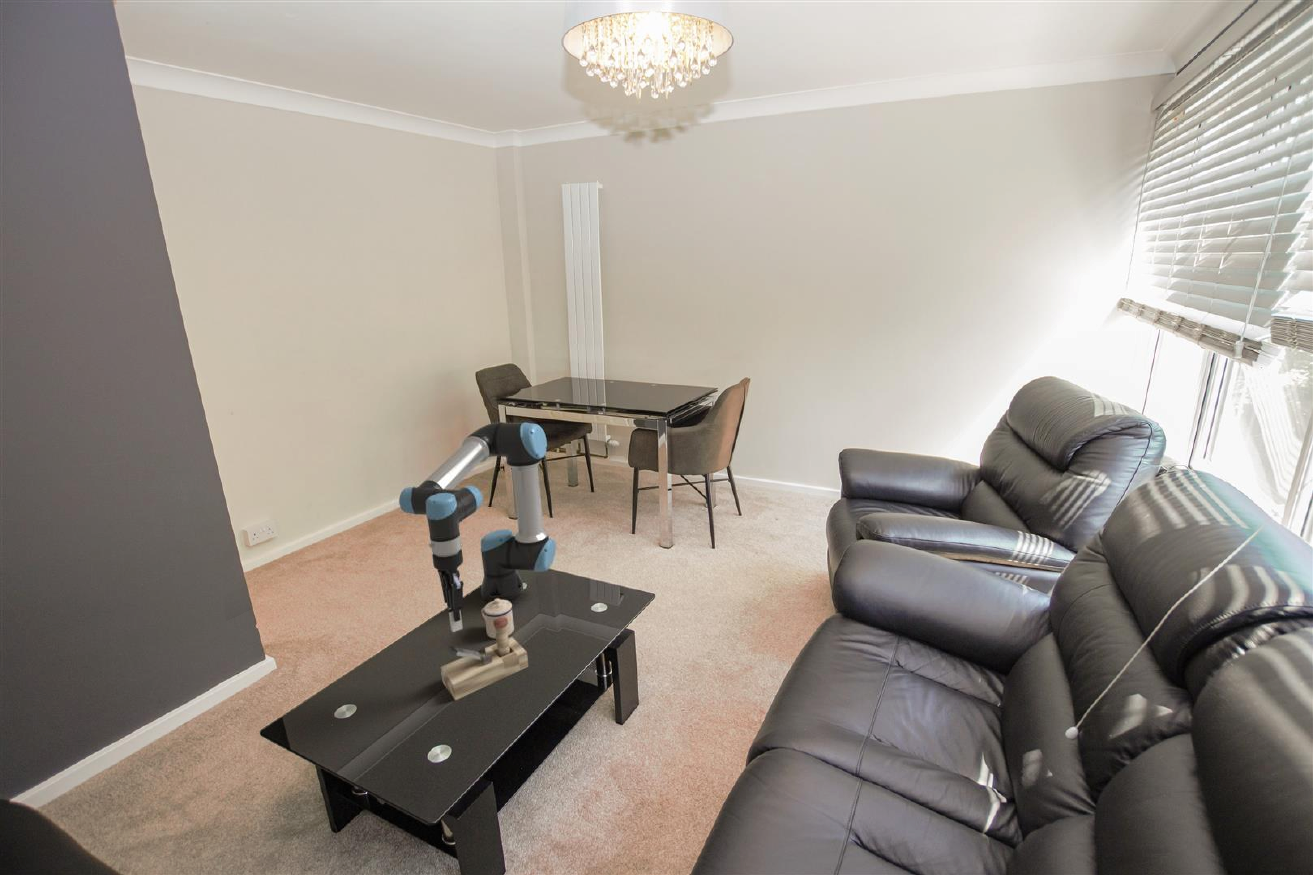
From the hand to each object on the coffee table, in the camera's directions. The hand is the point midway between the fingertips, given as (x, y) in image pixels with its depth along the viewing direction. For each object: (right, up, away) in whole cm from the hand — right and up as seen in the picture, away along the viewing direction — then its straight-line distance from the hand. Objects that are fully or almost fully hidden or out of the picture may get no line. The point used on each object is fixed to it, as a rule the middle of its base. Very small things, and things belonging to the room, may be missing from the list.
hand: (456, 629), depth 162 cm
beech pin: (+10, -15, +12) cm, 22 cm away
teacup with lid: (+3, -10, +30) cm, 32 cm away
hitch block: (+6, -16, +9) cm, 19 cm away
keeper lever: (+2, -9, +4) cm, 9 cm away
